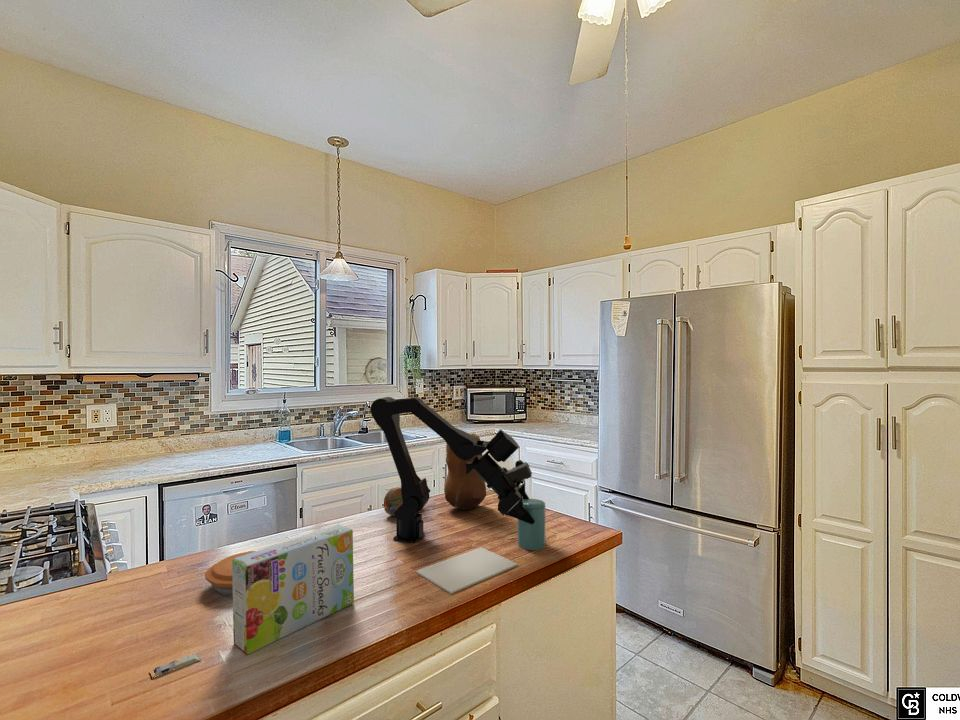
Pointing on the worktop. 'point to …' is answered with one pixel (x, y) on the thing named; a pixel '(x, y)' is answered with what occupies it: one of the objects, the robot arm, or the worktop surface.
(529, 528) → the teal cover
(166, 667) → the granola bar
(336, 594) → the snack box
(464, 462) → the butternut squash
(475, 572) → the grey mat
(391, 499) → the tin
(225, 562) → the pie
